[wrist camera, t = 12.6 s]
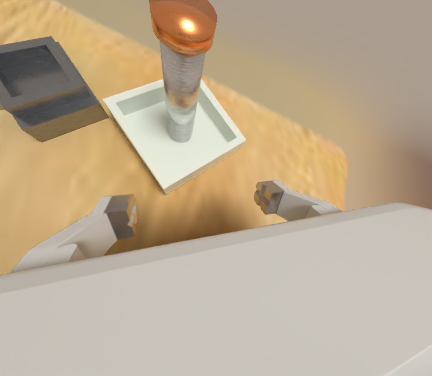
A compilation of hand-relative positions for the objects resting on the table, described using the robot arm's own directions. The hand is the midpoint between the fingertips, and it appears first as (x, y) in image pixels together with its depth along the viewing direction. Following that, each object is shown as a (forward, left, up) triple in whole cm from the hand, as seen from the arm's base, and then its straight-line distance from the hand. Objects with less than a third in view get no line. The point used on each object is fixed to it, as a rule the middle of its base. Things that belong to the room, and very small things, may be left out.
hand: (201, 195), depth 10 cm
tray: (+10, -5, -11) cm, 16 cm away
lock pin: (+10, -5, -10) cm, 15 cm away
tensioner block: (+22, +10, -11) cm, 27 cm away
